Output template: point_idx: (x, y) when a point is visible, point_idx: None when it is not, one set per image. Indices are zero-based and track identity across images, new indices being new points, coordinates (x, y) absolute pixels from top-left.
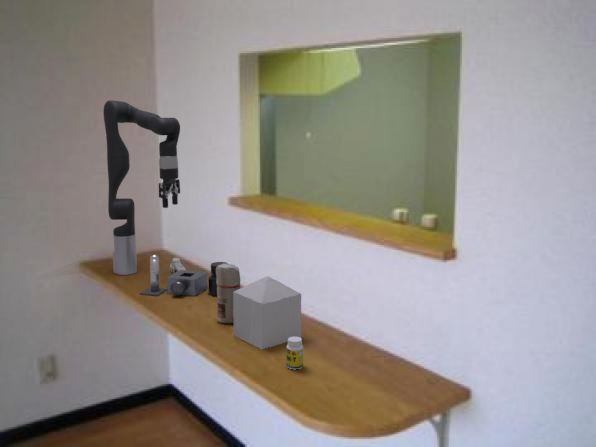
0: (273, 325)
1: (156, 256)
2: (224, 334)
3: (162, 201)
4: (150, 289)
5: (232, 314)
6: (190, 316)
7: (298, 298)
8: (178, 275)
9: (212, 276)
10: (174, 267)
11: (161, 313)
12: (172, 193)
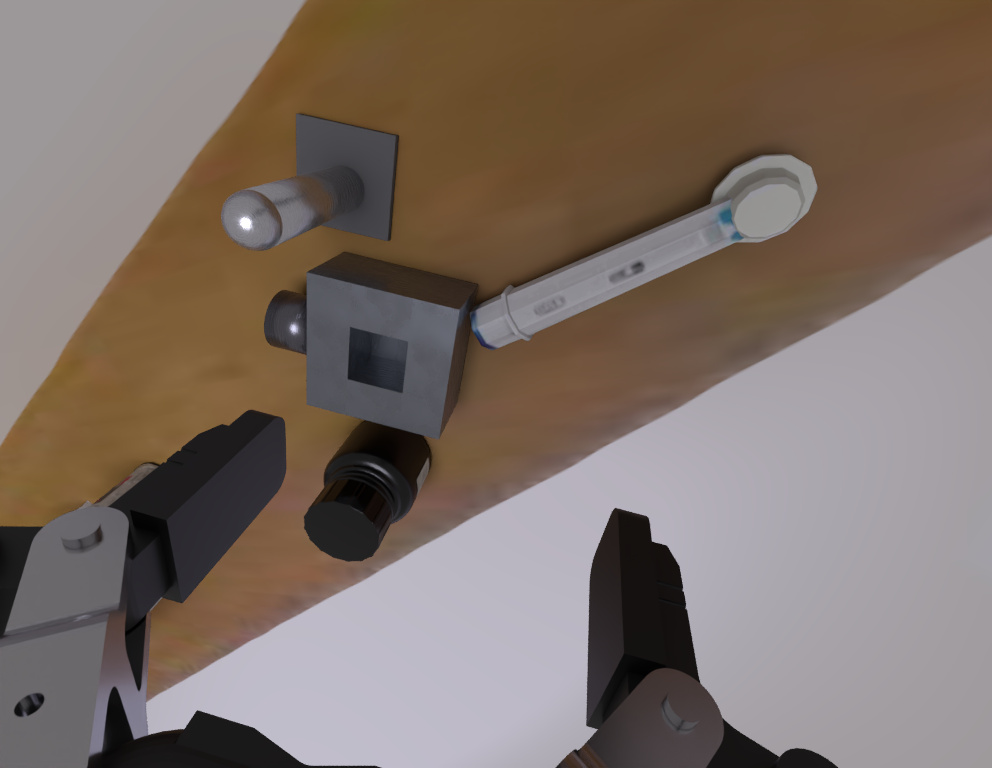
0: None
1: (237, 243)
2: (80, 483)
3: (143, 481)
4: (359, 156)
5: None
6: (149, 388)
7: None
8: (356, 322)
9: (333, 475)
10: (724, 197)
11: (133, 290)
12: (609, 728)
